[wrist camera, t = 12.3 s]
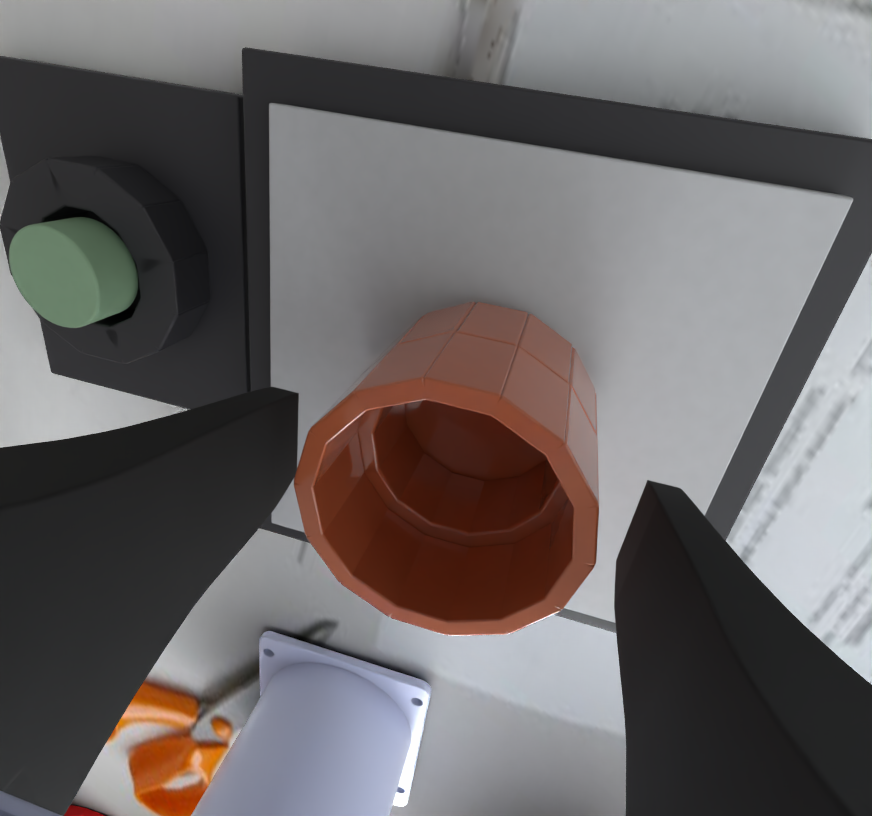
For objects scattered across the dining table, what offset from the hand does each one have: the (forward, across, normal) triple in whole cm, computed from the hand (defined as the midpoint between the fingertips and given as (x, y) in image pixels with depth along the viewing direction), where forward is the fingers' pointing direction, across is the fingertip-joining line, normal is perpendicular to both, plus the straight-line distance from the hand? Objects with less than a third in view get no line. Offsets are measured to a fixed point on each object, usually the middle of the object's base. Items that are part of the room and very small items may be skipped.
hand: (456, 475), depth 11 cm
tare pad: (+6, +12, -1) cm, 14 cm away
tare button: (+4, +12, -1) cm, 13 cm away
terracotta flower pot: (+3, 0, 0) cm, 3 cm away
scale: (+6, 0, 0) cm, 6 cm away
